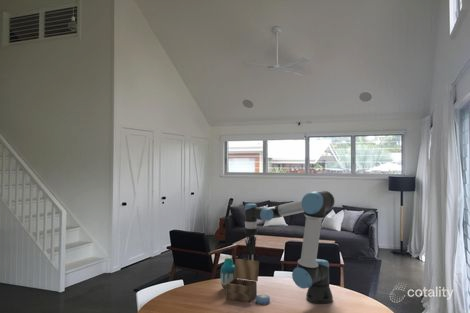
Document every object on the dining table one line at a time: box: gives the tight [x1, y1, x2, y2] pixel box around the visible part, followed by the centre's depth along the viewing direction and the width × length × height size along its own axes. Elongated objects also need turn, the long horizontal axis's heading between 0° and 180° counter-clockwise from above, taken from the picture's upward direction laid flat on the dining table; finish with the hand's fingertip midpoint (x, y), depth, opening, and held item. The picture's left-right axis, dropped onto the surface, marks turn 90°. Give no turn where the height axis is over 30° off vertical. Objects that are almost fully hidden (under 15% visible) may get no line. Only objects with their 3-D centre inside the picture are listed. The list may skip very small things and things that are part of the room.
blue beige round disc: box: [255, 294, 271, 305], centre depth 211 cm, size 8×8×3 cm
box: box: [225, 279, 258, 303], centre depth 218 cm, size 15×11×9 cm
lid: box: [234, 257, 260, 282], centre depth 224 cm, size 16×13×2 cm
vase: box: [220, 257, 236, 290], centre depth 234 cm, size 11×11×19 cm
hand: (251, 264), depth 232 cm, fingers closed
